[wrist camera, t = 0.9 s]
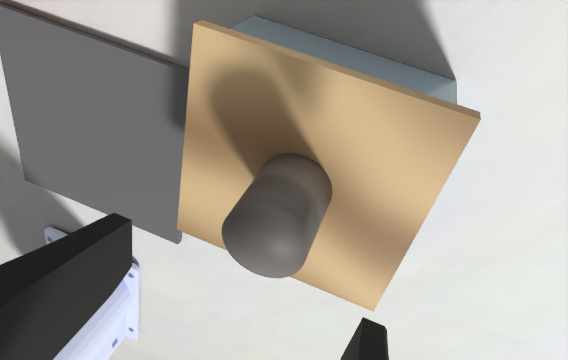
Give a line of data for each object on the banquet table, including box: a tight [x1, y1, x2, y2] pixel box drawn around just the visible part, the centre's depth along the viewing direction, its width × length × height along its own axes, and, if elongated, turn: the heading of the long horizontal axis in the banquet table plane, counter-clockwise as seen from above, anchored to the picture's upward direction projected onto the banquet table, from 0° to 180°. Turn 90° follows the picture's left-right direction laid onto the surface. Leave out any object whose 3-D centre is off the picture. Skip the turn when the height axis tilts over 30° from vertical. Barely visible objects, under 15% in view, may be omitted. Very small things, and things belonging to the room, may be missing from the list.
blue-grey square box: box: [230, 15, 457, 104], centre depth 19 cm, size 9×9×4 cm
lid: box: [177, 20, 481, 311], centre depth 15 cm, size 10×10×4 cm
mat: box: [0, 3, 190, 244], centre depth 25 cm, size 12×12×1 cm
